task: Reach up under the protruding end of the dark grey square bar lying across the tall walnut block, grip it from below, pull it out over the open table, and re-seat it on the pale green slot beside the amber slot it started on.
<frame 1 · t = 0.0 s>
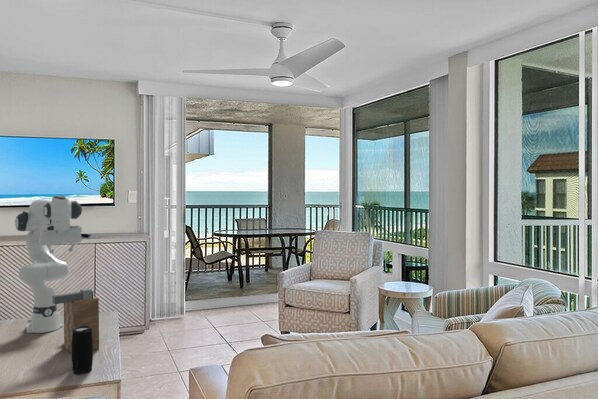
hand: (61, 252, 245), 48 cm above the table, tool pointing down, fingers open, 8 cm apart
portable speaker: (82, 371, 207), on the table
dark grey square bar: (73, 300, 229), point 26 cm above the table, touching panel block
panel block: (81, 348, 236), on the table
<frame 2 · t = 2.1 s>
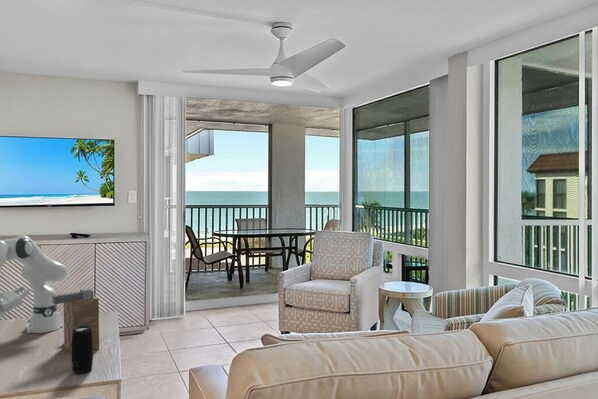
hand: (26, 289, 217), 35 cm above the table, tool pointing upward, fingers open, 8 cm apart
nothing on the table moved.
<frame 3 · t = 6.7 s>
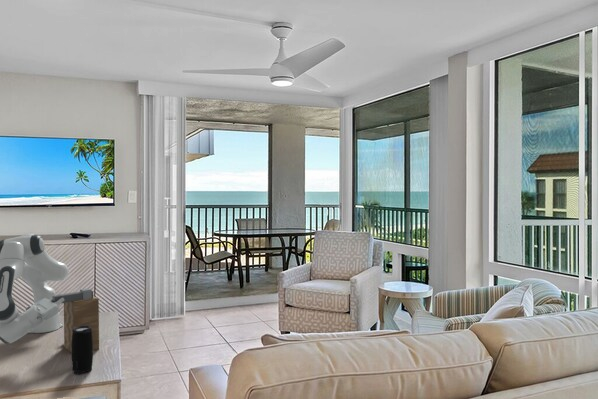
hand: (61, 297, 226), 29 cm above the table, tool pointing upward, fingers closed on dark grey square bar, 4 cm apart
dark grey square bar: (73, 300, 229), point 26 cm above the table, touching gripper, panel block
everything else where it was.
when the fingers open (30 cm above the table, at t = 13.0 s): dark grey square bar stays where it is, resting on panel block.
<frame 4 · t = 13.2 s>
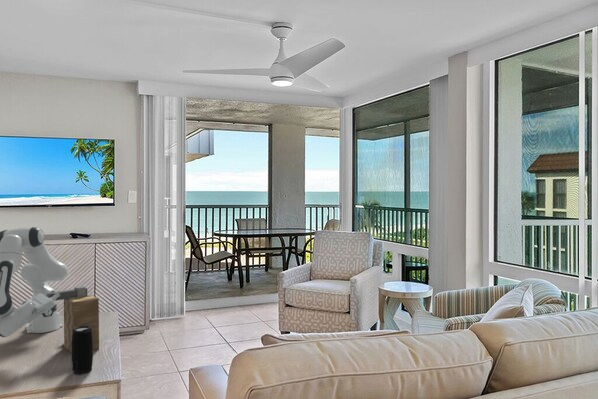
hand: (56, 292, 232), 30 cm above the table, tool pointing upward, fingers open, 6 cm apart
dark grey square bar: (67, 297, 235), point 26 cm above the table, touching panel block
everything else where it was.
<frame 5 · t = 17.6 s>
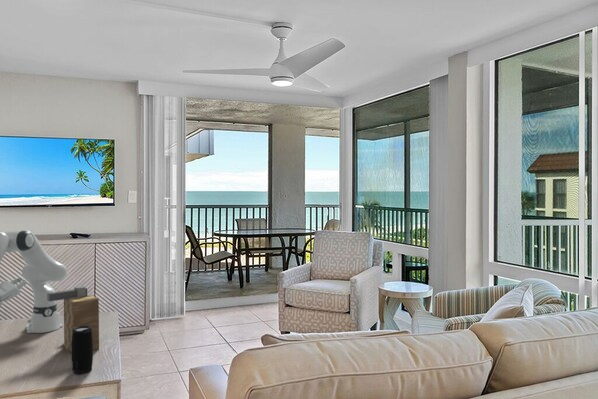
hand: (23, 280, 219), 38 cm above the table, tool pointing upward, fingers open, 8 cm apart
nothing on the table moved.
at the end: dark grey square bar inside the target area (0.1 cm from its centre), point 26.2 cm above the table; dark grey square bar tilted 0°; the gripper is holding nothing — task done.
